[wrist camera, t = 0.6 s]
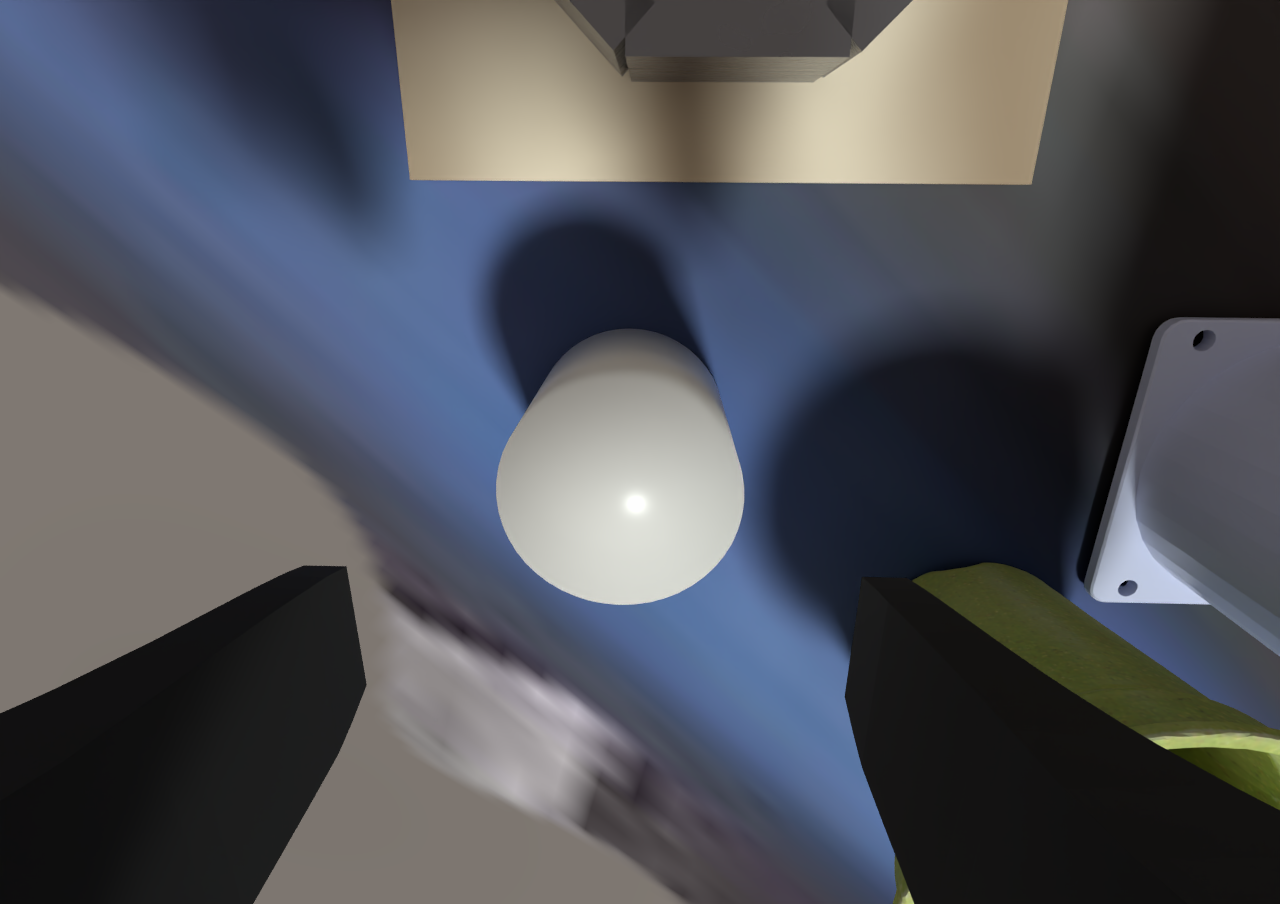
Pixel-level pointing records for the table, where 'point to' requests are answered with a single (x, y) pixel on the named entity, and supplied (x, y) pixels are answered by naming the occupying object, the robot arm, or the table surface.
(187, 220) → the table surface
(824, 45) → the lens ring
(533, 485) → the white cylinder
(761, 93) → the mount plate
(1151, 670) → the plant pot
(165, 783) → the robot arm
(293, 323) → the table surface
